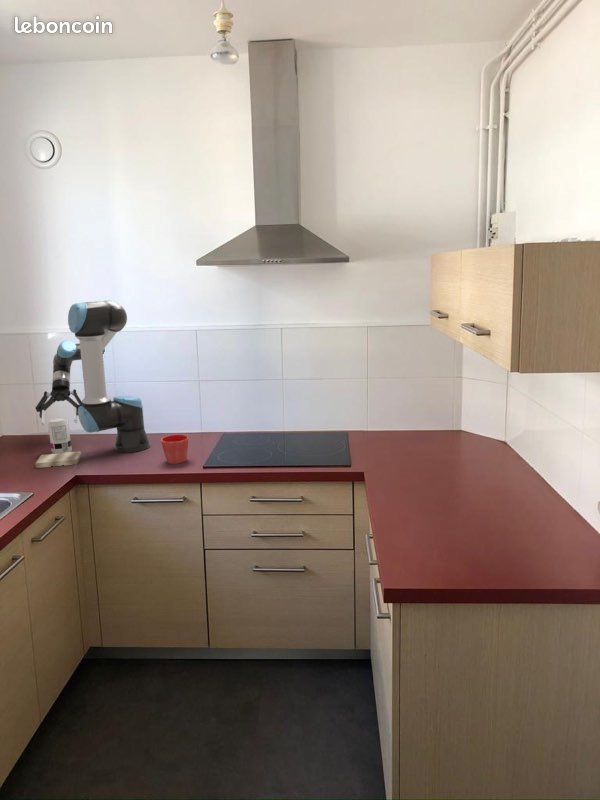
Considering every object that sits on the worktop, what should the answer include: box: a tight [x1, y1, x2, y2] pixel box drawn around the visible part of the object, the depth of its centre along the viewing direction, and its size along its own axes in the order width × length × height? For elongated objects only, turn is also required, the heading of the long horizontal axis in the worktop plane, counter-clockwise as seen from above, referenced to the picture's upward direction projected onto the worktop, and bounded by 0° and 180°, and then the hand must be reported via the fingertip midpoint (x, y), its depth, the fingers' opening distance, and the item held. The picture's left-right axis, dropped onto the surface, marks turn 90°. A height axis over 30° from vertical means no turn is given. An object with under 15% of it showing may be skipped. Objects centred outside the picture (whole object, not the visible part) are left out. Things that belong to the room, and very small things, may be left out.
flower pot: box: [160, 434, 189, 465], centre depth 251 cm, size 11×11×10 cm
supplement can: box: [47, 417, 73, 454], centre depth 268 cm, size 8×8×15 cm
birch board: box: [34, 451, 82, 469], centre depth 257 cm, size 16×12×2 cm
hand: (59, 422), depth 273 cm, fingers open, 13 cm apart
